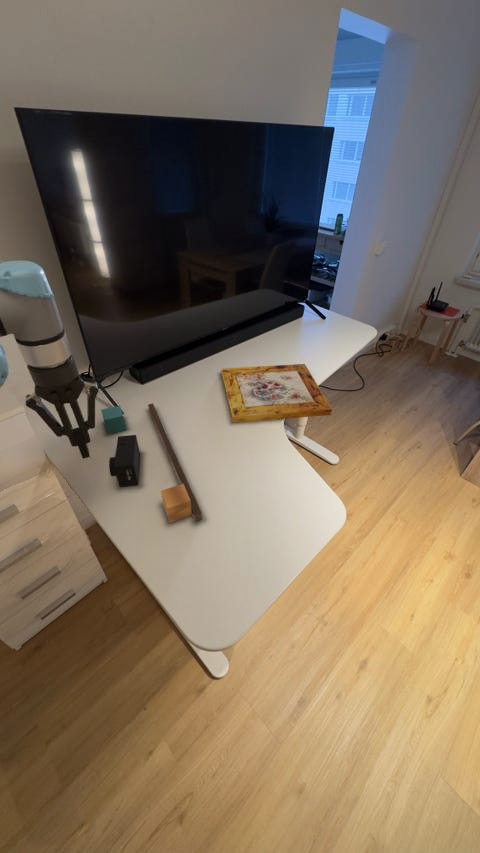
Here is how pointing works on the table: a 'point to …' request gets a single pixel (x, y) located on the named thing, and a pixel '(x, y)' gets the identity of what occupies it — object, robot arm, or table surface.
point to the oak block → (176, 502)
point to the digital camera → (126, 461)
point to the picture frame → (272, 393)
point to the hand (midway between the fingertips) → (85, 453)
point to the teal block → (113, 419)
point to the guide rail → (175, 462)
